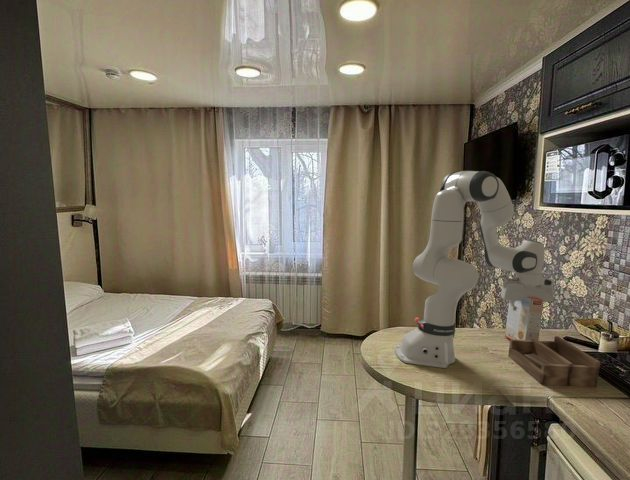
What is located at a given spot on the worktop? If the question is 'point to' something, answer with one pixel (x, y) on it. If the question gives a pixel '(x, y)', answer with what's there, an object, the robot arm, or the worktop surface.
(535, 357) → the dark stained offcut
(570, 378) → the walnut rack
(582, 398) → the worktop surface
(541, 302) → the cracker box
